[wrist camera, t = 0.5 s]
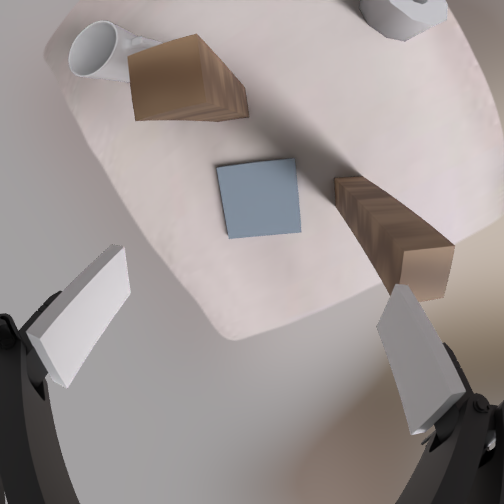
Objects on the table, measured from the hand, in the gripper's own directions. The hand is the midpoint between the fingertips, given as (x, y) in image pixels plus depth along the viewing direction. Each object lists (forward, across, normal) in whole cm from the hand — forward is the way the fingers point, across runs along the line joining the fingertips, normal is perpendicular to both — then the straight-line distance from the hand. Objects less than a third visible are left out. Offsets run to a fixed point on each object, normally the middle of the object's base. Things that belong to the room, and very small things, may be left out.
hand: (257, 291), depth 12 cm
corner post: (+25, -6, +9) cm, 28 cm away
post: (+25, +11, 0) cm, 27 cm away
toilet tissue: (+26, +15, +29) cm, 41 cm away
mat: (+25, -1, -3) cm, 25 cm away
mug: (+26, -18, +16) cm, 35 cm away
